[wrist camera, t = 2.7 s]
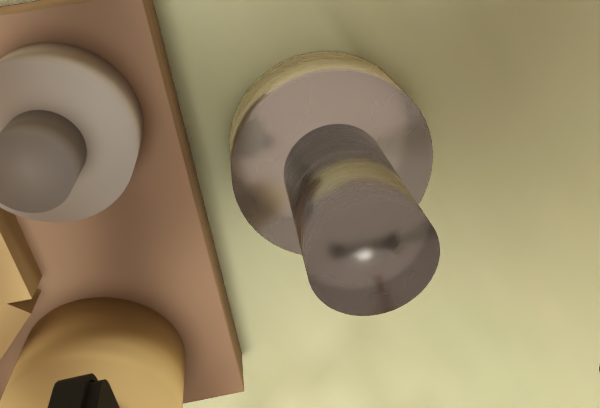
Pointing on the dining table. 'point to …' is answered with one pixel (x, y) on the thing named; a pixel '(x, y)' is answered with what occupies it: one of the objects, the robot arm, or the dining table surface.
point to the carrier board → (103, 215)
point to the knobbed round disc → (338, 178)
